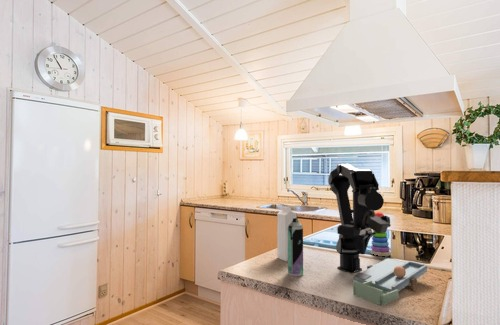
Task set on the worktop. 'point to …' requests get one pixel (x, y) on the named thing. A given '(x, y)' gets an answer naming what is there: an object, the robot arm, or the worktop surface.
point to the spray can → (295, 248)
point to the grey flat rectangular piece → (391, 274)
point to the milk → (283, 231)
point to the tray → (374, 293)
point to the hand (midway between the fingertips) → (362, 254)
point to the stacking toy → (380, 242)
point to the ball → (399, 271)
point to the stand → (411, 287)
